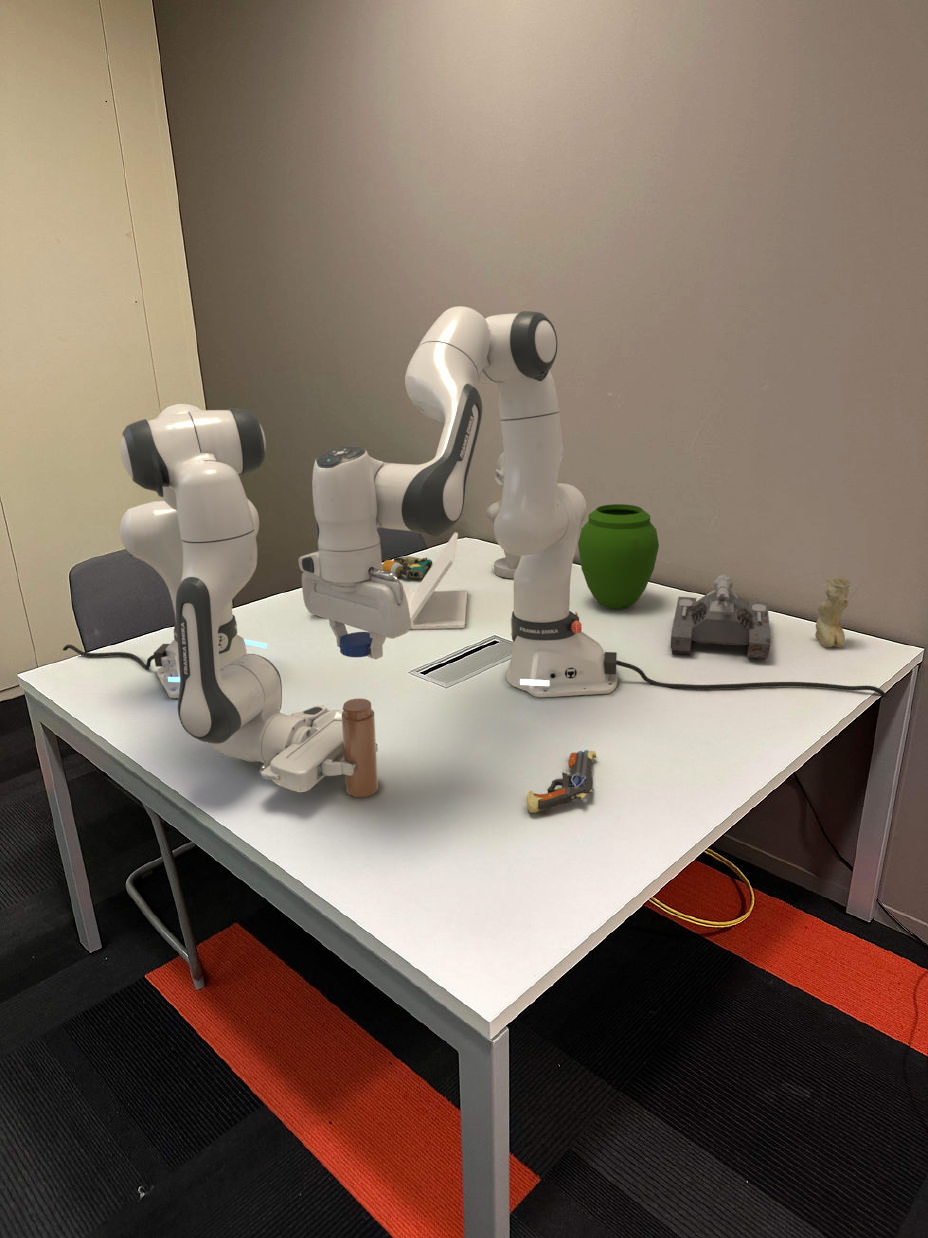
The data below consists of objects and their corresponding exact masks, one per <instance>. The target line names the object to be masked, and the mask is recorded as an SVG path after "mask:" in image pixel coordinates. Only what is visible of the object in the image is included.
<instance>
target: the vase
mask: <svg viewBox="0 0 928 1238" xmlns="http://www.w3.org/2000/svg"><path fill="white" fill-rule="evenodd" d="M587 516H588V517H587V518H588V521H587V522H586V523H585V524H584V525H583V526H581V528H580V532H579V537H578V541H577V546H578V554H579V562H580V569H581V571H582V574H583V577H584V580H585V583H586V585H587V588H588V590H589V591H590V594H592V597H593V598H594V600H595V601H596V602H597V603H598V604H599V605H600V606H602V607H604V608H606V609H609V610H625V609H628V608H630V607H632V606H634V604H636V602H638V601H639V599H640V597H641V596H642V595H643V593H644V592H645V590H646V588H647V586H648V584H649V581H650V579H651V577H652V574H653V572H654V570H655V566H656V562H657V557H658V552H659V548H660V544H659V543H660V542H659V537H658V531H657V528H656V527H655V526H654V524H653V523H652V522H651V515H650V514H649V512H647V511H645V510H644V509H643V508H642V507H641V506H638V505H633V504H622V503H621V504H619V503H616V504H615V503H614V504H604V505H601V506H598V507H597V508H595V509H594V510H592V511H591V512H590V513H589V514H588V515H587Z"/></svg>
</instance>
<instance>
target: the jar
mask: <svg viewBox="0 0 928 1238" xmlns="http://www.w3.org/2000/svg"><path fill="white" fill-rule="evenodd" d="M342 711H343V713H342V715H341V717H342V732H343V747H344V760H343V762H344V761H346V760H350V761H355V762H356V764H357V766H356V767H357V770H356V771H355V772H354V773H353V774H352V775H351V776H350V775H345V774H344V775H345V777H344V778H345V790H346V793H347V795H349V796H351V797H354V798H366V797H370V796H372V795H374V794H375V793H376V792H378V790H379V780H378V762H377V752H376V744H377V739H376V719H375V711H374V710H373V709H372V702H371V701H370V700H368V699H366V698H361V697H360V698H358V697H357V698H352V699H348V700H347V701H345V702H344V703H343V706H342Z"/></svg>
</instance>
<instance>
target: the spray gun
mask: <svg viewBox="0 0 928 1238" xmlns="http://www.w3.org/2000/svg"><path fill="white" fill-rule="evenodd" d="M432 565H433V561H432V560H431V559H430V558H429V559H428V557H427V556H426V557H423V558H419V557H415V556H409V555H408V556H398V557H397V556H395V557H394V558H393V560H392V559H386V560H384V562H382V570H383V571H385V572H392V573H394V574H395V575H396V577H397V578H399V577H401V576H406V578H416V579H422V578H424V576H425V575H426V574H427V570H429V569H430V568H431V567H432Z"/></svg>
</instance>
